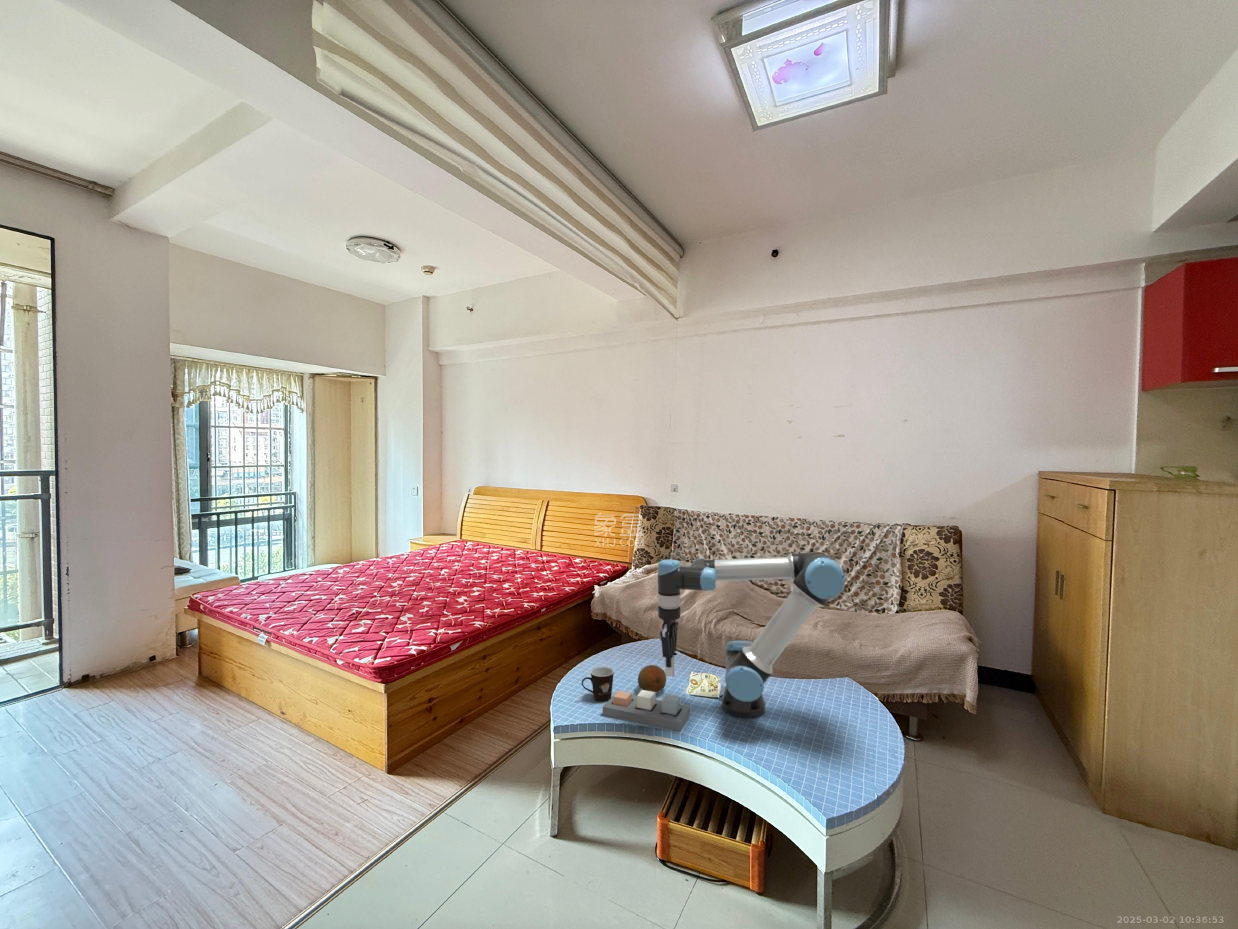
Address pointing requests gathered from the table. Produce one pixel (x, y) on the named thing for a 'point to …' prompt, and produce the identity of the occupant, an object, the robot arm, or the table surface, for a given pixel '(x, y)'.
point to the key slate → (671, 704)
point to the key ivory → (646, 700)
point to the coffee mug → (601, 683)
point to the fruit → (652, 678)
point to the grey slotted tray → (648, 714)
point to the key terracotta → (622, 698)
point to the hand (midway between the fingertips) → (669, 675)
